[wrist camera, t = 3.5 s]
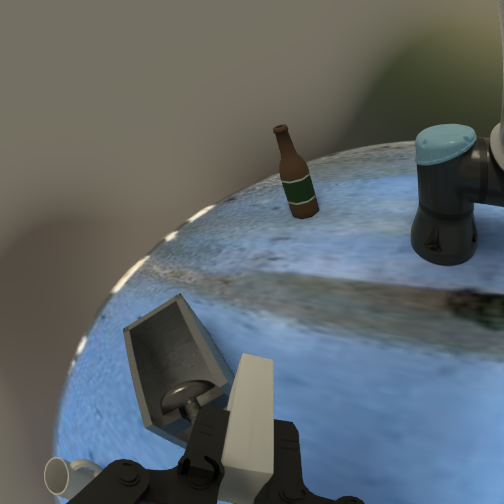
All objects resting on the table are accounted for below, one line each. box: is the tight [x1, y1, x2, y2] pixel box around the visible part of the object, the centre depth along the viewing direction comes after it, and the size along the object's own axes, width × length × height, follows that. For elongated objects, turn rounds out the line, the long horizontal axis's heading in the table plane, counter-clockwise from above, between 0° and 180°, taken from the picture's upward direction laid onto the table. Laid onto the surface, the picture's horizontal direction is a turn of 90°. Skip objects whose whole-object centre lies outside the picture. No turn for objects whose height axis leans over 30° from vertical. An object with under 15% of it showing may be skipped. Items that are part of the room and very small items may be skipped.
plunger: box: [160, 380, 254, 504], centre depth 24 cm, size 18×8×8 cm, turn 30°
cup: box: [44, 457, 103, 500], centre depth 25 cm, size 7×10×9 cm
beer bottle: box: [273, 125, 319, 219], centre depth 66 cm, size 8×8×24 cm
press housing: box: [123, 293, 235, 449], centre depth 38 cm, size 20×12×11 cm, turn 30°
